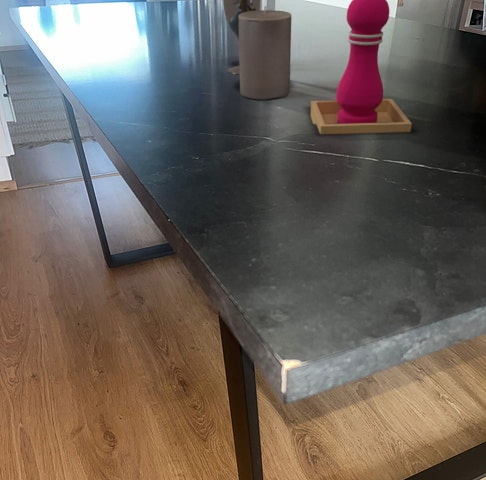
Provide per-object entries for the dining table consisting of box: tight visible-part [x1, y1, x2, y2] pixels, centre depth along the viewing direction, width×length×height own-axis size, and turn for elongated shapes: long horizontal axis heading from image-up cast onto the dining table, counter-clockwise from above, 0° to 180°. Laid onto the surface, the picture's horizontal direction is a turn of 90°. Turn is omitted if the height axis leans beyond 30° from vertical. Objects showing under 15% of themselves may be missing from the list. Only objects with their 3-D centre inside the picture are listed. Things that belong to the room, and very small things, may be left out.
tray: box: [310, 98, 413, 135], centre depth 84 cm, size 14×13×3 cm
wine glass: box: [222, 0, 262, 75], centre depth 112 cm, size 8×8×15 cm
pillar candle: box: [238, 5, 292, 100], centre depth 98 cm, size 10×10×15 cm
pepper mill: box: [335, 0, 390, 124], centre depth 79 cm, size 7×7×20 cm
